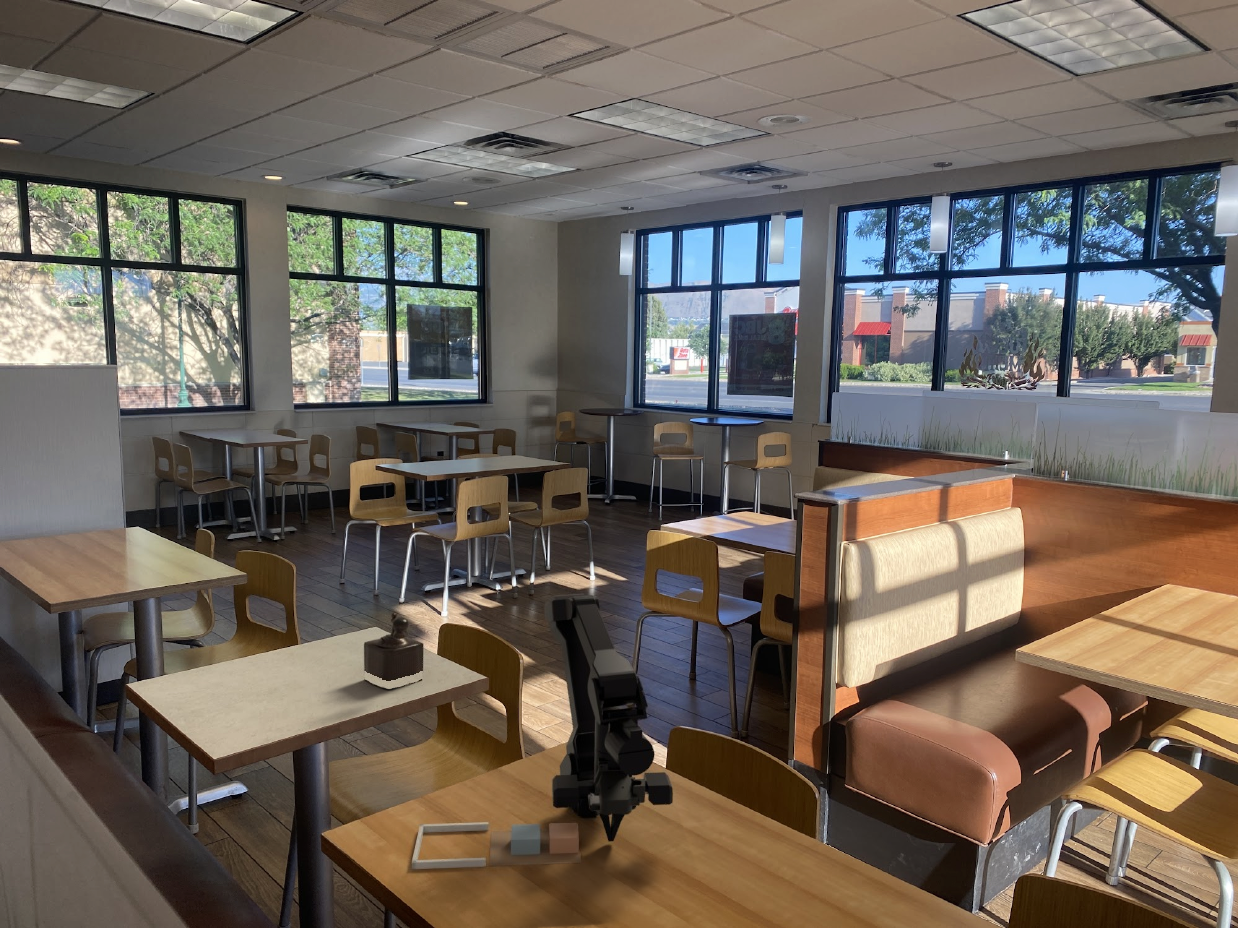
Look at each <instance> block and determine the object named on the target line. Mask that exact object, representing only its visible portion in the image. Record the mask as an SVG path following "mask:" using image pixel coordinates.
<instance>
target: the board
mask: <svg viewBox="0 0 1238 928" xmlns="http://www.w3.org/2000/svg"><path fill="white" fill-rule="evenodd" d="M489 845H490V846H489V847H490V848H489V849H490V850H489V859H488V860H489V861H488V862H489V863H488V867H505V866H506V867H507V866H508V867H509V866H510V867H511V866H533V865H534V866H536V865H555V864H556V865H563V864H582V859H581V857H582V855H581V849H580V848H581V847H580V845H579V853H558V854H550V849H549V828H548V829H547V828H546V829H544V828H542V829H540V854H530V855H511V830H491V834H490V844H489Z"/></svg>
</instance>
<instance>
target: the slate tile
mask: <svg viewBox="0 0 1238 928" xmlns="http://www.w3.org/2000/svg"><path fill="white" fill-rule="evenodd" d="M510 826H511V827H510V828H511V829H510V831H511V855H530V854H540V830H541V823H529V824H528V823H525V824H511V825H510Z"/></svg>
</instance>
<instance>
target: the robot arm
mask: <svg viewBox="0 0 1238 928" xmlns="http://www.w3.org/2000/svg"><path fill="white" fill-rule="evenodd" d="M601 614H602V613H601V610H600V602H599V599H598V596H593V595H592V594H590V595H586V594H585V593H571V594H558V595H551V597H550V599H549V601H547V602H545V604H544V617H545V618H544V619H545V621H546V622H547V623H548V627H549V632H550V635H551V636H552V637H553V638H554V639H555V640H556V642H557V643H558V644H559V645H560V646H561V653H562V660H563V666H564V674H565V681H566V688H567V694H568V702H569V709H570V717H571V723H572V731H571V733H570V735H569V737H568V741H567V743H566V747H565V749H566V754H565V755H564V757H563V759H562V761H561V762H560V764H559V774H556V775H554V777H553V778H552V779H551V786H552V787H551V788H552V789H551V793H552V795H551V796H552V797H551V798H552V806H553V807H554V808H556V809H565V808H569V809H570V810H571V812H573V813H575V814H576V815H577V817H579V818H580V819H595V818H597V816H599V818H600V820H601V822H602V826H603V828H604V832H605V835H606V838H607V841H608V843H609V842H615V839H616V836H617V833H618V832H619V828H620V826H621V824H622V821H623V819H624V817H625V816H626V815H627V816H628V815H630V814H631V813H632V811H634V810H636V808H637V807H638V806H640V804H643V803H645V801H646V795H647V796H648V797H647V799H648V801H649V803H650V804H652V805H653V806H667V805H671V804H673V802H674V799H673V797H674V793H673V786H672V783H671V779H670V777H669V775H668V774H667V772H663V771H662V772H659V771H658V772H646V771H647V770H649V768H651V766H652V764H653V762H654V760H655V750H654V746H653V745H652V743H651V742H650V741H649V739H648V738H647V737H646V736H645V735H644V733H643V729H642V728H641V727H640V726H639V721H641V720H647V719H648V715H647V714H648V713H647V709H648V707H649V706H648V702H647V699H646V698H647V697H646V695H645V691H644V688H643V684H642V681H641V678H640V676H639V675H638V674H637V673H636V671H635V669H634V668H633V666H632V664H631V662H630V661H629V659H627V658H625V657H624V656H622V655H620V654H619V653H618V652H617V650H616V648H615V646H614V643H613V641H612V638H611V636H610V633H609V631H608V628H607V627H606V623H605V621H604V618H603V617H602V615H601ZM633 704H635V706H634V707H627V708H626V707H624V708H623V707H622V706H629V705H631V706H632V705H633ZM642 774H643V778H636V777H635V776H639V775H642ZM610 816H611V819H610Z"/></svg>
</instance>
